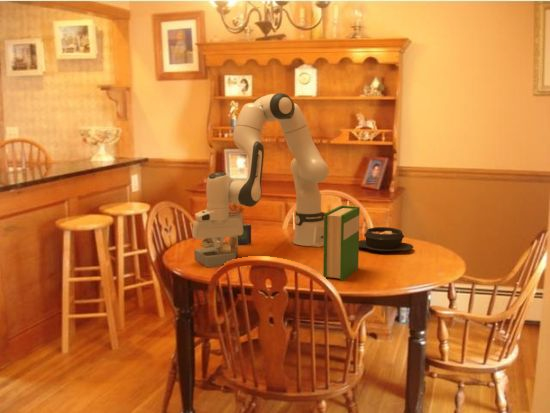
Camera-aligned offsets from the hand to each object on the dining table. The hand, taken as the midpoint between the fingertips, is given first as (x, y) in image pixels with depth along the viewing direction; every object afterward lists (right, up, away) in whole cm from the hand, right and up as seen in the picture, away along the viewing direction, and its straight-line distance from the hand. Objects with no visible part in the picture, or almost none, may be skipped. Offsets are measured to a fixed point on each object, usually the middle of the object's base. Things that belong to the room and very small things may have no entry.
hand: (218, 247), depth 230 cm
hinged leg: (+2, -1, +3) cm, 4 cm away
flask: (+7, -1, +29) cm, 30 cm away
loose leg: (+5, -4, +10) cm, 12 cm away
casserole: (+69, -2, +19) cm, 72 cm away
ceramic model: (-5, -1, +28) cm, 28 cm away
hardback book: (+47, -9, -15) cm, 50 cm away
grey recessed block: (-2, -6, +2) cm, 6 cm away
